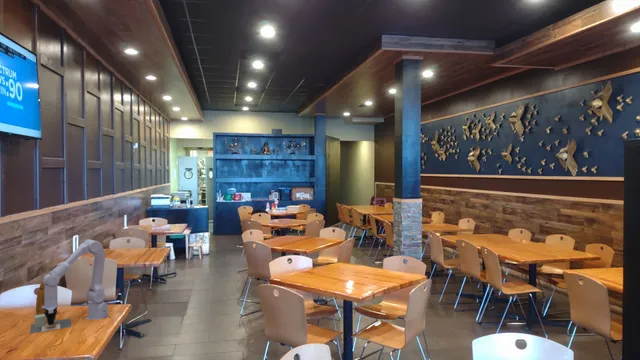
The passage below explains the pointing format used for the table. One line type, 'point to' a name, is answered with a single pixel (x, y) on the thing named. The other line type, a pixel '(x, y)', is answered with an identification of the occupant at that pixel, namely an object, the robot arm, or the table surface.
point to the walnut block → (50, 325)
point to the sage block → (39, 320)
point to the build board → (59, 325)
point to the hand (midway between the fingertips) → (51, 323)
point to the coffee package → (40, 300)
